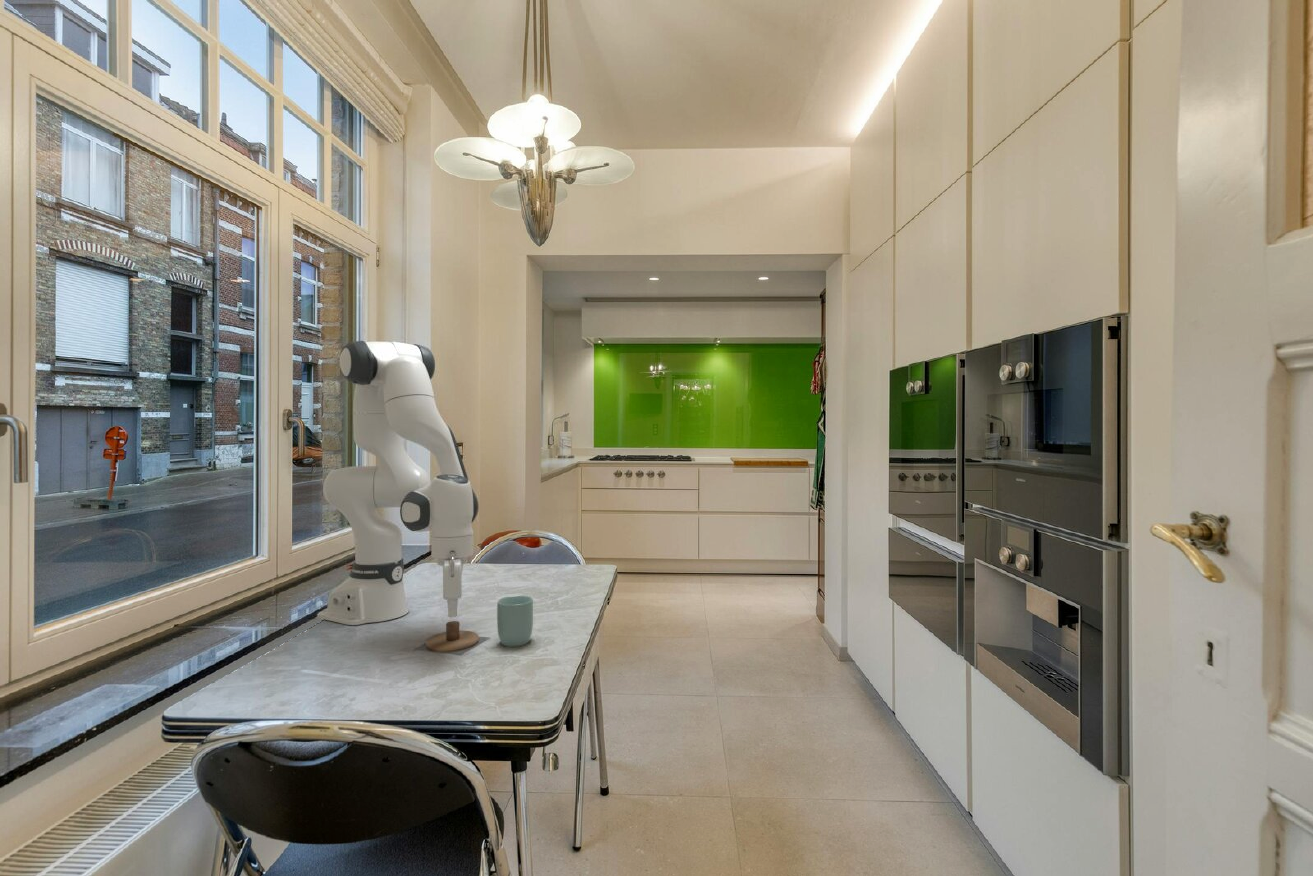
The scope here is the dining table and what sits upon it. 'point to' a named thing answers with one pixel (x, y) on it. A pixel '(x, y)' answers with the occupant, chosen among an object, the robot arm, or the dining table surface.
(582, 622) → the dining table surface
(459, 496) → the robot arm
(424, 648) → the mat
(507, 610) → the cup
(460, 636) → the lid
